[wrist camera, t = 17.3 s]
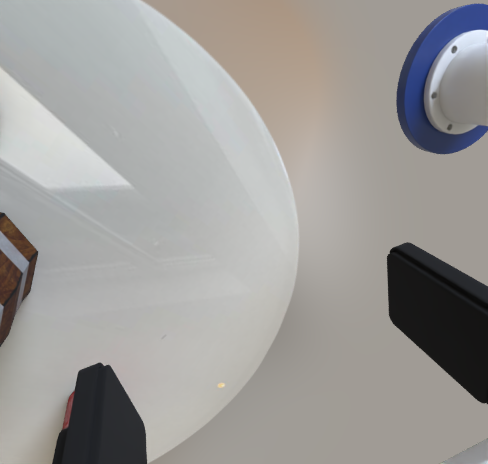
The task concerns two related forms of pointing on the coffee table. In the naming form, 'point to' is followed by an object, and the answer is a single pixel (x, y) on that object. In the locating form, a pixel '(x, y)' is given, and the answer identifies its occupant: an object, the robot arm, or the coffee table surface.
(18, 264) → the mug
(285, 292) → the coffee table surface
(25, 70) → the coffee table surface
